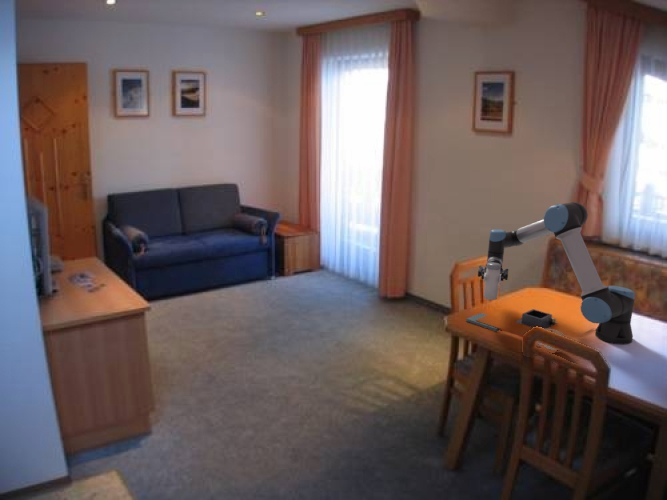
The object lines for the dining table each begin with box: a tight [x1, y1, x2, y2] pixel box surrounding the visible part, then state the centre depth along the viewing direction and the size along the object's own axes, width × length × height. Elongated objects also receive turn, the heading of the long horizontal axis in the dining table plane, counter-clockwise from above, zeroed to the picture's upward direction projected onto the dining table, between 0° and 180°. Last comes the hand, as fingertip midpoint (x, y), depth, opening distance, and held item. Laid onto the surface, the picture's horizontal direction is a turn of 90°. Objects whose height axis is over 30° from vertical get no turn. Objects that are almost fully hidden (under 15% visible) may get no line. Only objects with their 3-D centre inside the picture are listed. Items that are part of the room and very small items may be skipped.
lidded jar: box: [537, 328, 566, 350], centre depth 265 cm, size 11×11×9 cm
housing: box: [514, 309, 558, 329], centre depth 293 cm, size 14×14×6 cm
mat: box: [465, 312, 501, 332], centre depth 295 cm, size 16×12×1 cm
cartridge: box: [483, 262, 501, 301], centre depth 290 cm, size 6×6×16 cm
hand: (492, 280), depth 284 cm, fingers closed on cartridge, 6 cm apart
